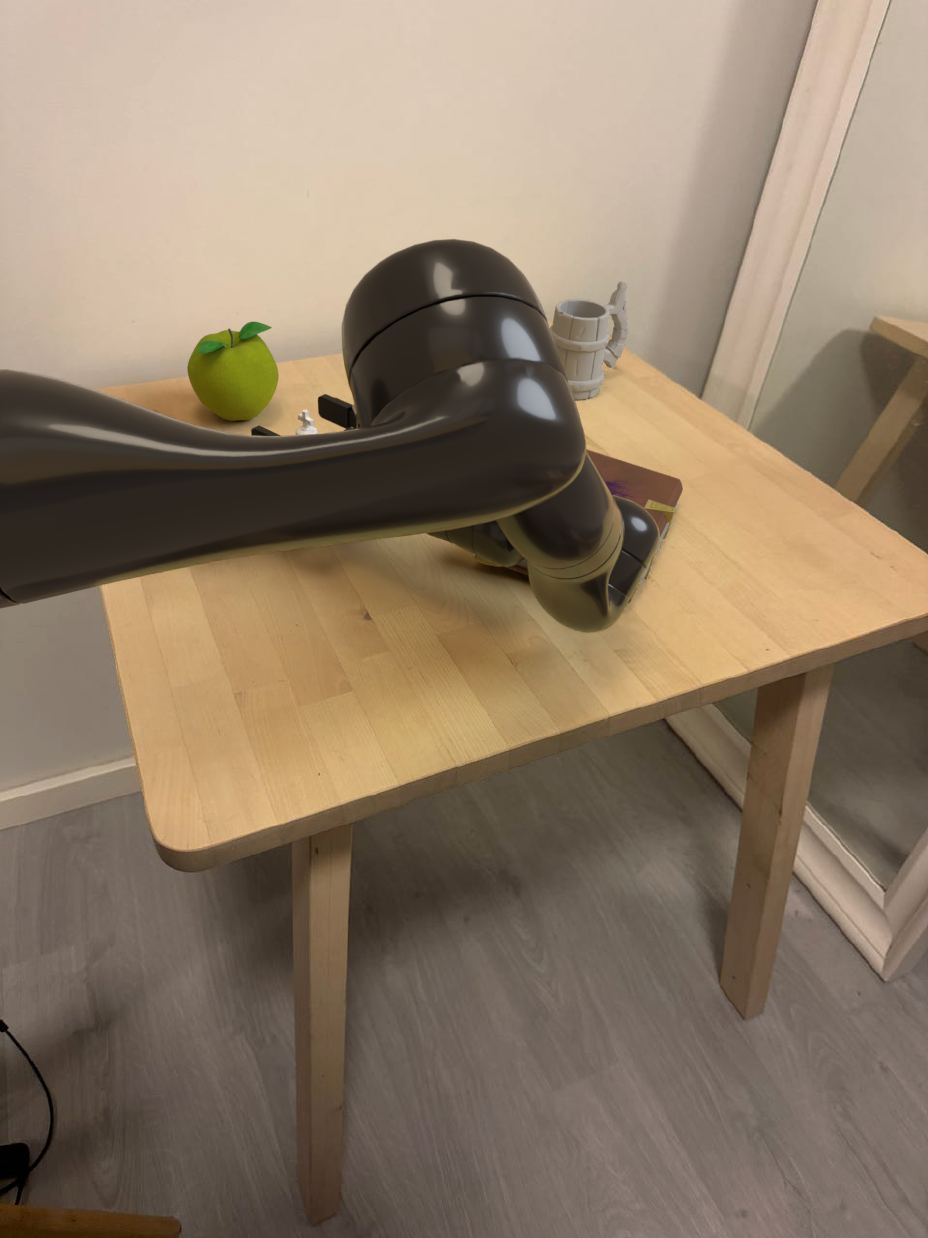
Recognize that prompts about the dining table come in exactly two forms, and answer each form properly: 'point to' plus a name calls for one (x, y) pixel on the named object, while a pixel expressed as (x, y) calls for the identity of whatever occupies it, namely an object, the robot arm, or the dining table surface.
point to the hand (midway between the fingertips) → (288, 419)
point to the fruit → (234, 372)
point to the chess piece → (306, 424)
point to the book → (632, 496)
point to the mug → (589, 339)
